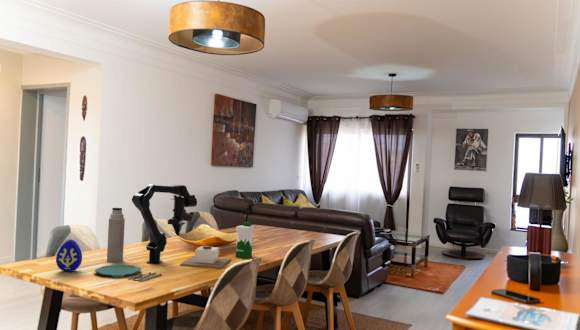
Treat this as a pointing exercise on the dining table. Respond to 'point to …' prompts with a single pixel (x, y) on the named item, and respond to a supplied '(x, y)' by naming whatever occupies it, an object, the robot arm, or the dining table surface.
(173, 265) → the dining table surface
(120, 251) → the thermos bottle
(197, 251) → the white block with hole
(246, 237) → the milk carton
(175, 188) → the robot arm
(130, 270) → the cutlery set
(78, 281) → the dining table surface
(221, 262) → the board
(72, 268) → the ornament
